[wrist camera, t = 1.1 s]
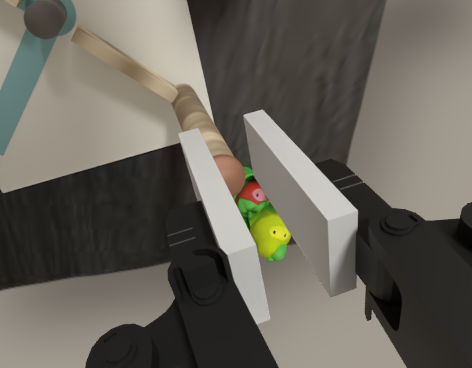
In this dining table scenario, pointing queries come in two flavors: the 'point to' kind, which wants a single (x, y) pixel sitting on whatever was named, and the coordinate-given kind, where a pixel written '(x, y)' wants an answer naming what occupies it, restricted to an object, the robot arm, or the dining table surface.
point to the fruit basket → (262, 219)
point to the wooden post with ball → (43, 17)
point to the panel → (181, 99)
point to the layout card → (90, 88)
